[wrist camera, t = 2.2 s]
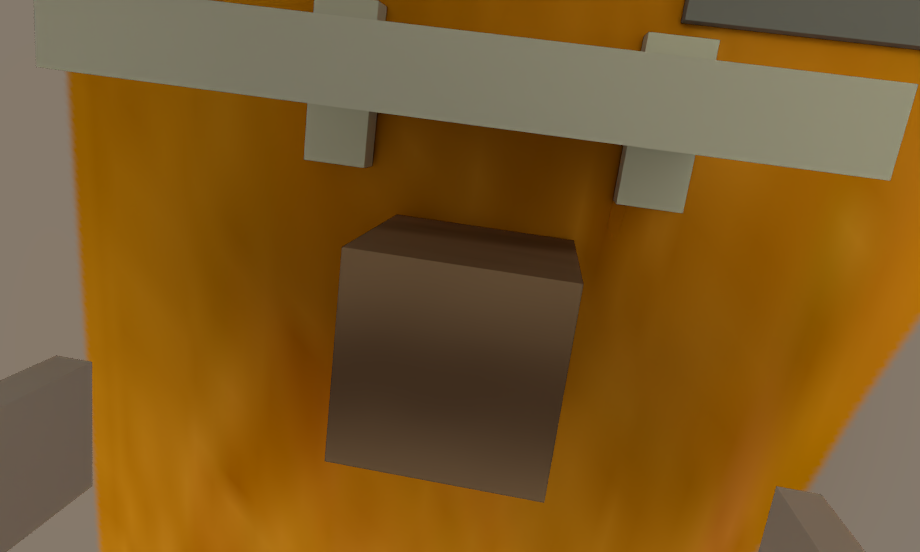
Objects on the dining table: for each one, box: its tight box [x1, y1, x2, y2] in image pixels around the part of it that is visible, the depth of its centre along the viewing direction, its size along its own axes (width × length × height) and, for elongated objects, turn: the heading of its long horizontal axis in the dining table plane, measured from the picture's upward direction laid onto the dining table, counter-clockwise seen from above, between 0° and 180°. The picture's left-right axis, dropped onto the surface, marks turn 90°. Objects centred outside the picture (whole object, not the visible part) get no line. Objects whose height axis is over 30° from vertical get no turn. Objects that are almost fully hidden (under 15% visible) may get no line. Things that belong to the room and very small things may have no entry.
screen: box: [34, 0, 918, 213], centre depth 14 cm, size 5×12×12 cm, turn 82°
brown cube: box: [325, 215, 583, 503], centre depth 19 cm, size 6×6×6 cm
